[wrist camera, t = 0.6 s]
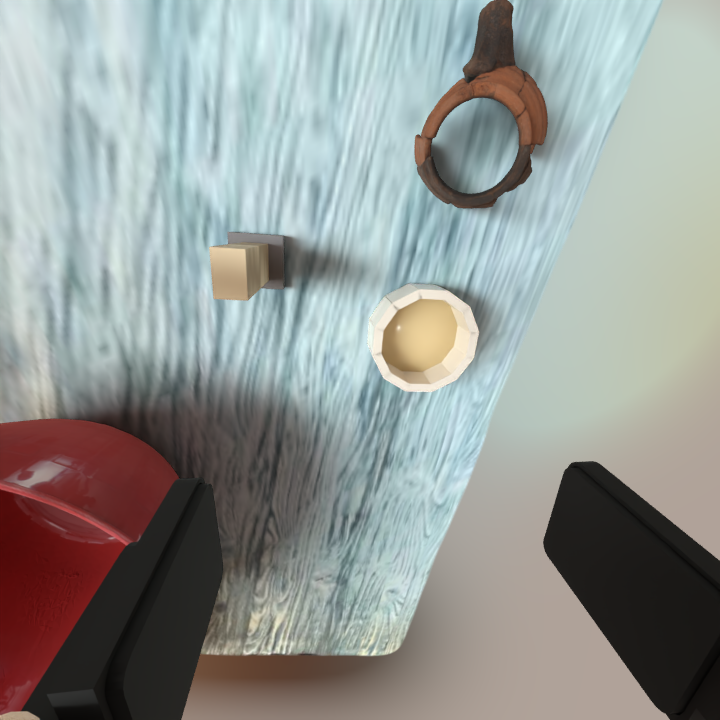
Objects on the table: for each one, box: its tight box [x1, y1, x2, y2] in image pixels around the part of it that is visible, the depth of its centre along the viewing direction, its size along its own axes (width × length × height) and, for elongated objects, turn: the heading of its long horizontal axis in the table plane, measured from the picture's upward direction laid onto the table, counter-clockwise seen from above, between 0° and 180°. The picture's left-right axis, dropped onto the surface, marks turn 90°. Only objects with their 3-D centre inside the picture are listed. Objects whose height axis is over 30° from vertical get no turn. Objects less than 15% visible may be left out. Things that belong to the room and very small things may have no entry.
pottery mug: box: [415, 0, 548, 208], centre depth 25 cm, size 12×9×8 cm
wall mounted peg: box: [209, 232, 285, 300], centre depth 25 cm, size 4×4×10 cm
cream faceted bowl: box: [367, 283, 479, 392], centre depth 32 cm, size 10×10×4 cm
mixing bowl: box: [0, 419, 179, 715], centre depth 28 cm, size 28×28×16 cm
